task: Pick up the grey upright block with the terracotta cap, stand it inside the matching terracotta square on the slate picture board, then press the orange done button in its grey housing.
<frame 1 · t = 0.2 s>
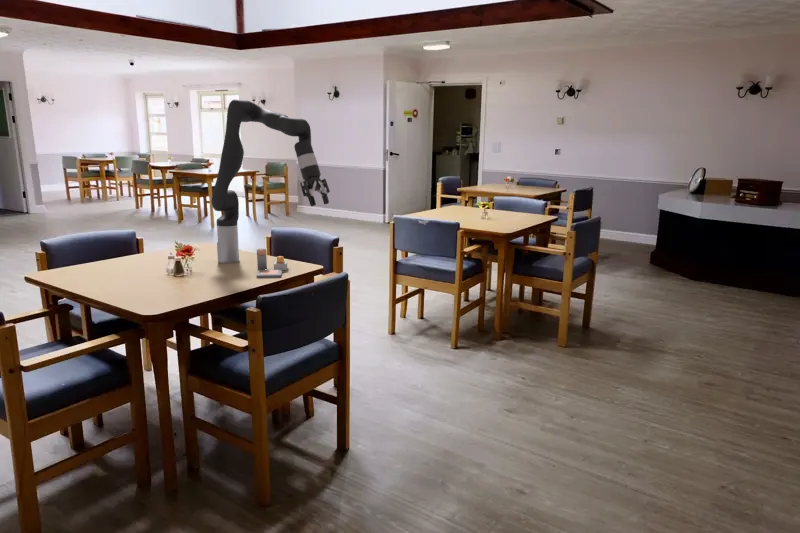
hand: (320, 204, 231), 31 cm above the table, tool tilted 20°, fingers open, 8 cm apart
grey upright block: (262, 269, 251), on the table
done button: (280, 260, 251), point 4 cm above the table, slide at 0.0 cm
button housing: (280, 269, 252), on the table
picture board: (269, 274, 242), on the table
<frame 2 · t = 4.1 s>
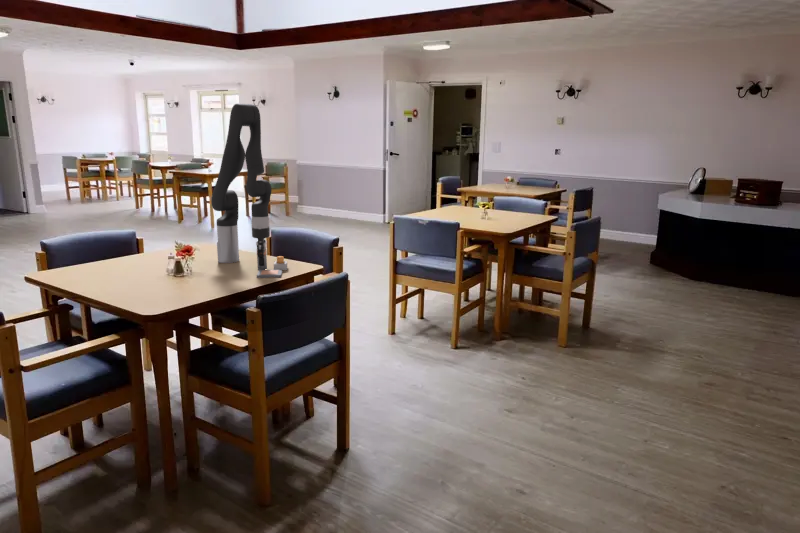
hand: (262, 264, 250), 2 cm above the table, tool pointing down, fingers closed on grey upright block, 4 cm apart
grey upright block: (262, 269, 251), on the table, touching gripper
everything else where it was.
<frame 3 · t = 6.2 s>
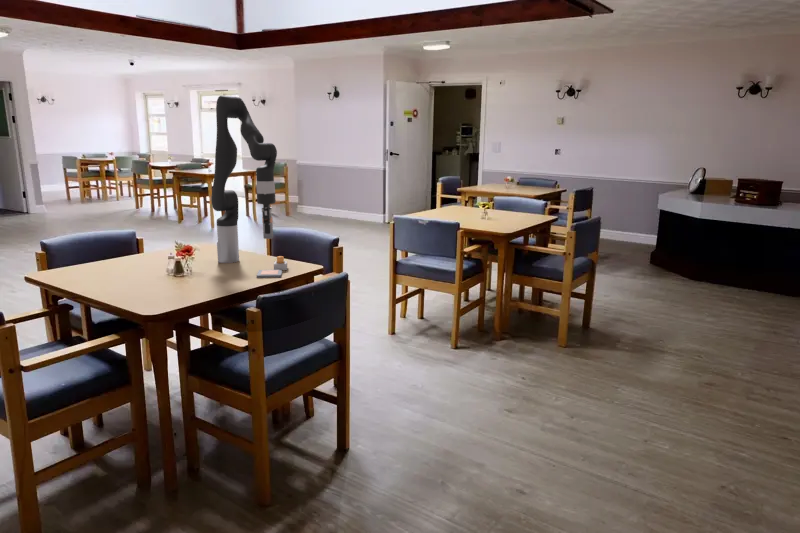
hand: (268, 232, 239), 18 cm above the table, tool pointing down, fingers closed on grey upright block, 4 cm apart
grey upright block: (268, 237, 239), point 16 cm above the table, touching gripper
everything else where it was.
when the fingers open (4 cm above the table, at t = 8.7 s): grey upright block stays where it is, resting on picture board.
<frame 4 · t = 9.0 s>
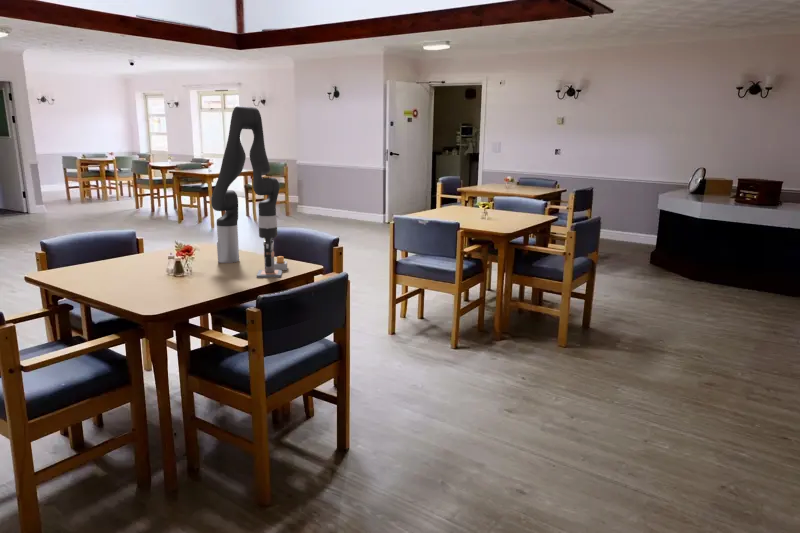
hand: (269, 264, 241), 4 cm above the table, tool pointing down, fingers open, 6 cm apart
grey upright block: (269, 272, 241), point 1 cm above the table, touching picture board
everything else where it was.
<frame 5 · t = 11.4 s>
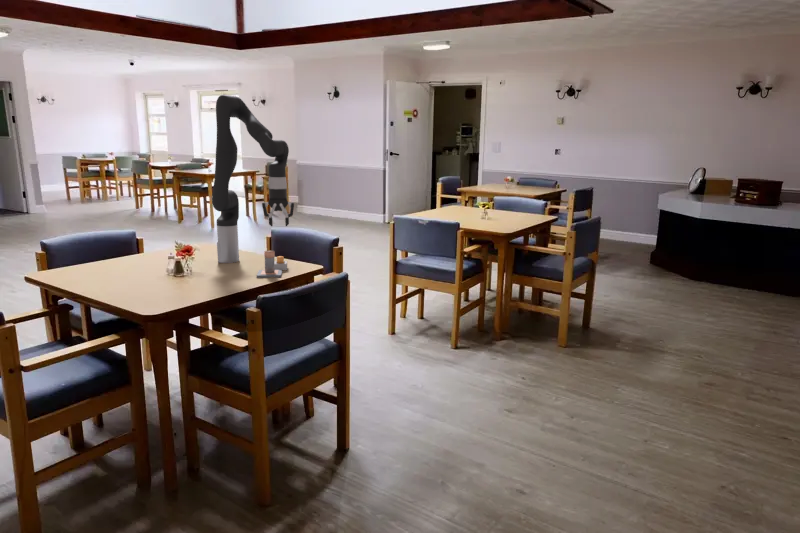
hand: (279, 225, 247), 20 cm above the table, tool pointing down, fingers open, 5 cm apart
nothing on the table moved.
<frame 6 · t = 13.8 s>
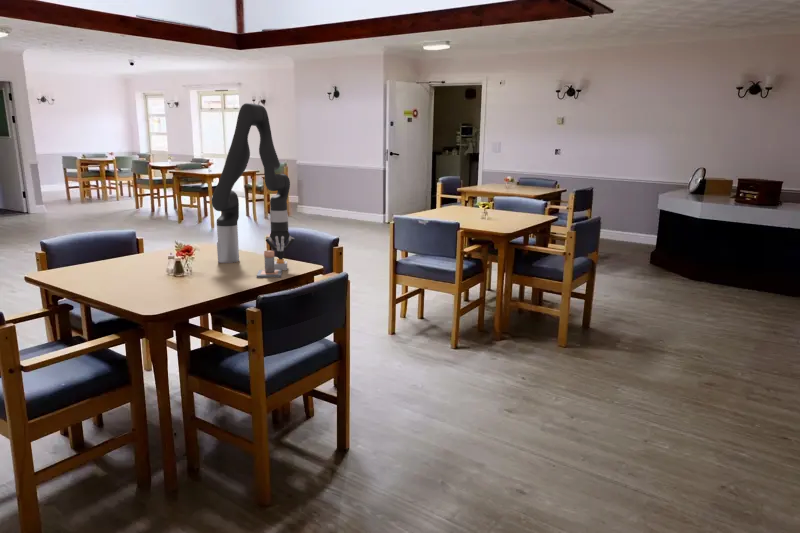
hand: (280, 258, 251), 5 cm above the table, tool pointing down, fingers closed
done button: (280, 262, 251), point 3 cm above the table, slide at 1.0 cm, touching gripper
everything else where it was.
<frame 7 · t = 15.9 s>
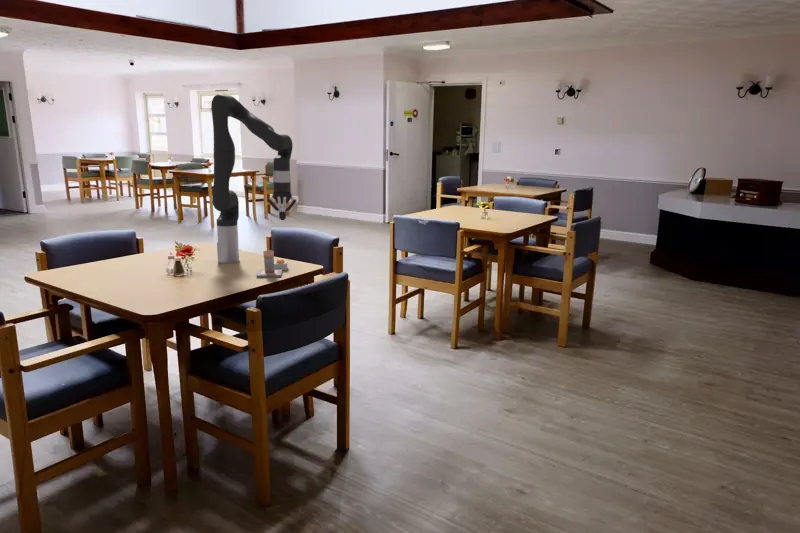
hand: (282, 219, 253), 21 cm above the table, tool pointing down, fingers closed
done button: (280, 263, 251), point 3 cm above the table, slide at 1.3 cm
everything else where it was.
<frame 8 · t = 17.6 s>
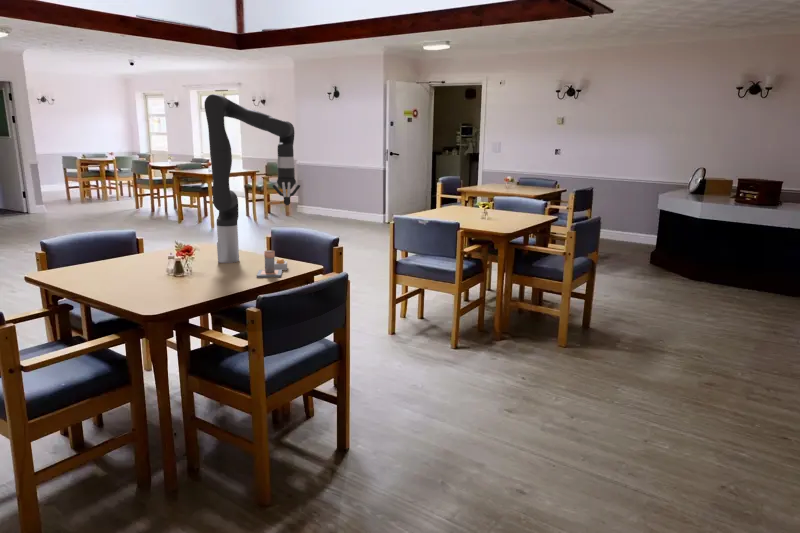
hand: (287, 205, 259), 27 cm above the table, tool pointing down, fingers closed
nothing on the table moved.
at the end: grey upright block 0.1 cm from the target spot, point 1.2 cm above the table; grey upright block tilted 2°; done button slide at 1.3 cm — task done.
